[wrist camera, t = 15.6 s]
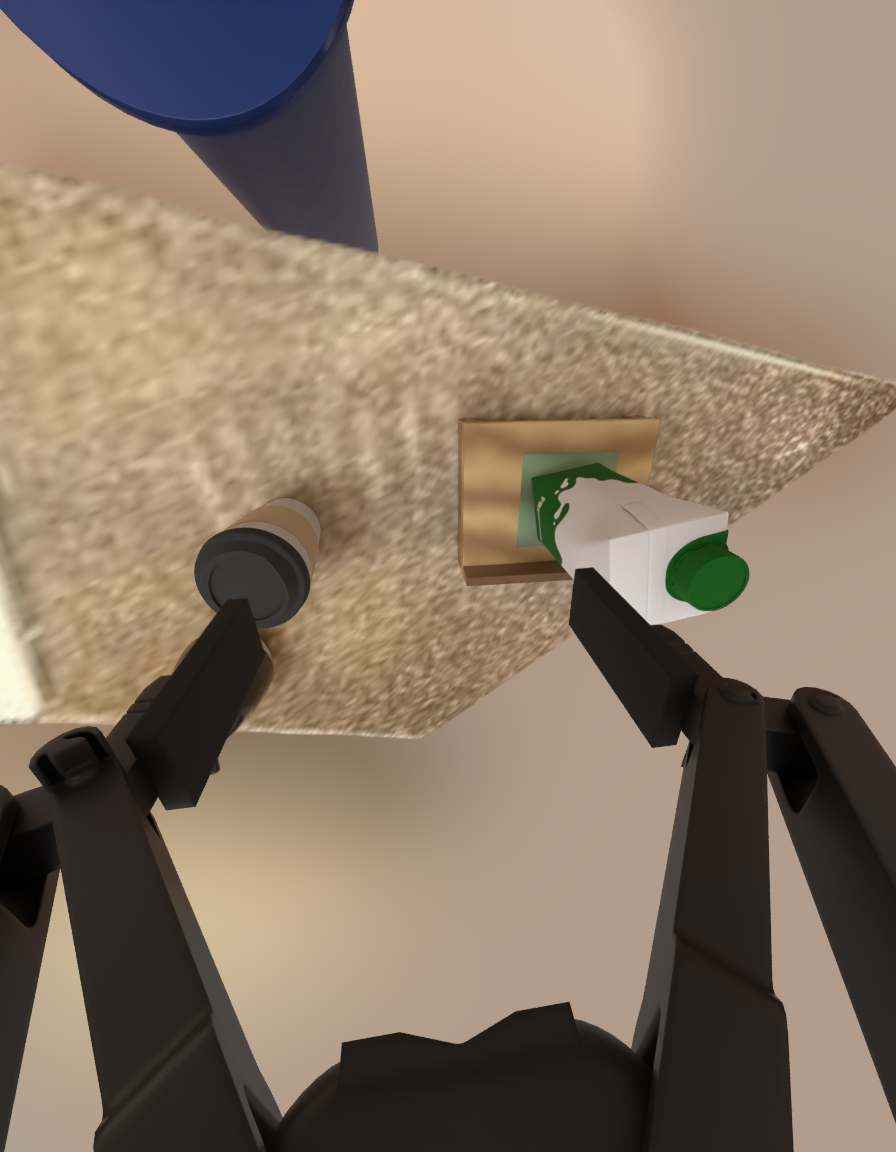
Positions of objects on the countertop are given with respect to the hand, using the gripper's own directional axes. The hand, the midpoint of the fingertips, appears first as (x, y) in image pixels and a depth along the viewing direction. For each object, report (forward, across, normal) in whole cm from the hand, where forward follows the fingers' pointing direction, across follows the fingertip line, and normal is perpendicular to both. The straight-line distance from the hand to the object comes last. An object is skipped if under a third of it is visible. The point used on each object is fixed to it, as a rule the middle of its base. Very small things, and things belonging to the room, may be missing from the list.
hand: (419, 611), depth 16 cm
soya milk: (+26, +17, -4) cm, 31 cm away
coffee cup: (+30, -14, -6) cm, 34 cm away
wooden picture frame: (+30, +16, -4) cm, 34 cm away
